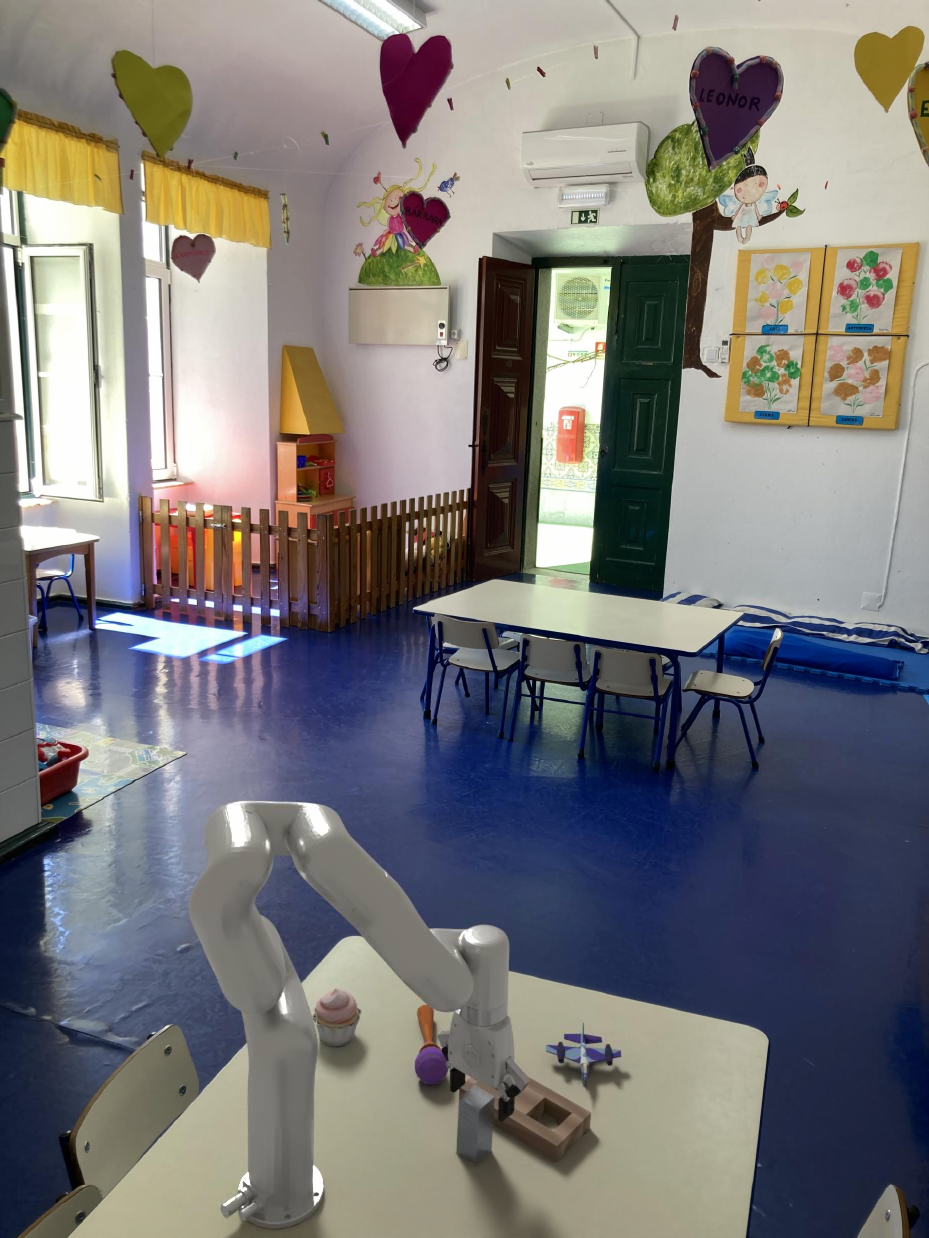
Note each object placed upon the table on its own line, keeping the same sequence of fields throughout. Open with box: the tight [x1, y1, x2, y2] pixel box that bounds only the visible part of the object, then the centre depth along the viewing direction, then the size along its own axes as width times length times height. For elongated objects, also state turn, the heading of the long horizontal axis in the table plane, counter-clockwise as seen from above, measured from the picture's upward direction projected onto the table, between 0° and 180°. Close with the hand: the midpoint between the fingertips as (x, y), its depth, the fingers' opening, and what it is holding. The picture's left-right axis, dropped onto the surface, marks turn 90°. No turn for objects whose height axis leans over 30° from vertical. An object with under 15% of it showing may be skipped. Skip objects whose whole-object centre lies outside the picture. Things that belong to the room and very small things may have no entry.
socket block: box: [458, 1077, 592, 1163], centre depth 162 cm, size 10×20×3 cm, turn 51°
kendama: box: [414, 1004, 450, 1085], centre depth 177 cm, size 6×6×20 cm
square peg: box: [455, 1085, 495, 1166], centre depth 153 cm, size 4×4×10 cm
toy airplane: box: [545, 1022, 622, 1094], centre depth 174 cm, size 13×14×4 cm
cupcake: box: [311, 987, 363, 1047], centre depth 180 cm, size 9×9×10 cm
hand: (481, 1101), depth 153 cm, fingers open, 9 cm apart
